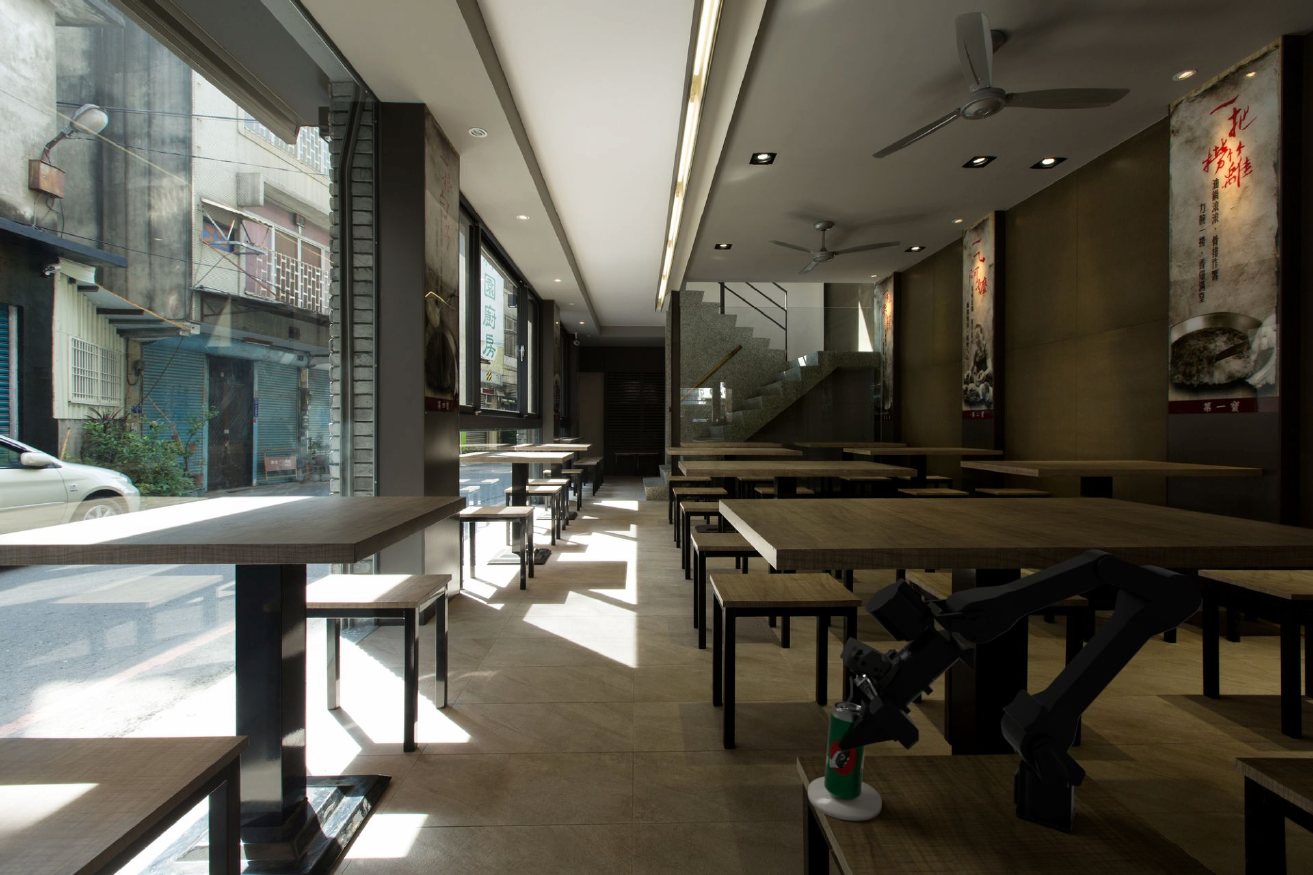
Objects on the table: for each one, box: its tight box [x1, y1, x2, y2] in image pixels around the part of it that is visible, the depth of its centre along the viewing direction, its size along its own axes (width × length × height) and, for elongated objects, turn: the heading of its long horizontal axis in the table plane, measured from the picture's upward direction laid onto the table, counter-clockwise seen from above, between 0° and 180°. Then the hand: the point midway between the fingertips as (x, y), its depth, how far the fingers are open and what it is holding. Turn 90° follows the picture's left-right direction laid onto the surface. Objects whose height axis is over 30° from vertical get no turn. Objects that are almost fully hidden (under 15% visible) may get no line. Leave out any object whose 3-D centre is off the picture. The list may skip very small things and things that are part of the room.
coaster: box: [807, 776, 883, 822], centre depth 93 cm, size 10×10×1 cm
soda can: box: [824, 701, 866, 800], centre depth 93 cm, size 5×5×12 cm
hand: (836, 738), depth 93 cm, fingers closed on soda can, 5 cm apart
